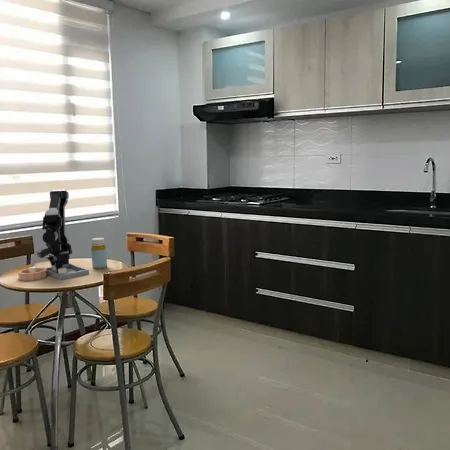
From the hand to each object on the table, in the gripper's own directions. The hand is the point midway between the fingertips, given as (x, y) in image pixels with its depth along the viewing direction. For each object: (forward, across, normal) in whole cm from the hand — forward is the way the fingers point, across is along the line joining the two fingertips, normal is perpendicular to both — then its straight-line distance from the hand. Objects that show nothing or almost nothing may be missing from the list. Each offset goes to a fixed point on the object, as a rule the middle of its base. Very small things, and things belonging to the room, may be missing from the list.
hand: (56, 272), depth 227 cm
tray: (+1, +3, +3) cm, 4 cm away
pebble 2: (+1, 0, 0) cm, 1 cm away
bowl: (+1, -2, -10) cm, 11 cm away
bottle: (+1, +5, +20) cm, 21 cm away
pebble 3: (+1, +9, -1) cm, 9 cm away
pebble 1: (0, -4, -10) cm, 10 cm away
